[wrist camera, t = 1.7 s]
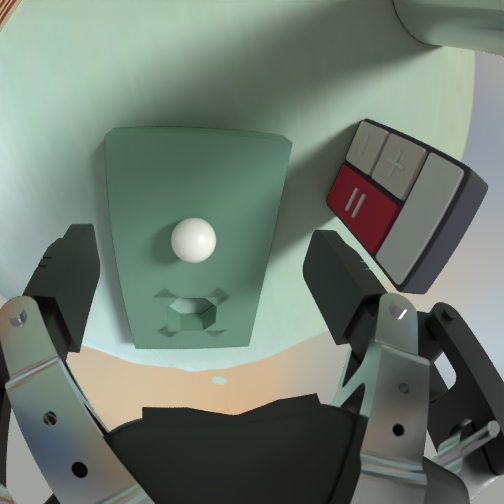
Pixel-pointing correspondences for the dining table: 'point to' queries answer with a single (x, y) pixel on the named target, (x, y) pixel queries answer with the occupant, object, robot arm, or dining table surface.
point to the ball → (193, 240)
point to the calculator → (405, 203)
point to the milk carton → (7, 10)
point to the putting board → (193, 206)
